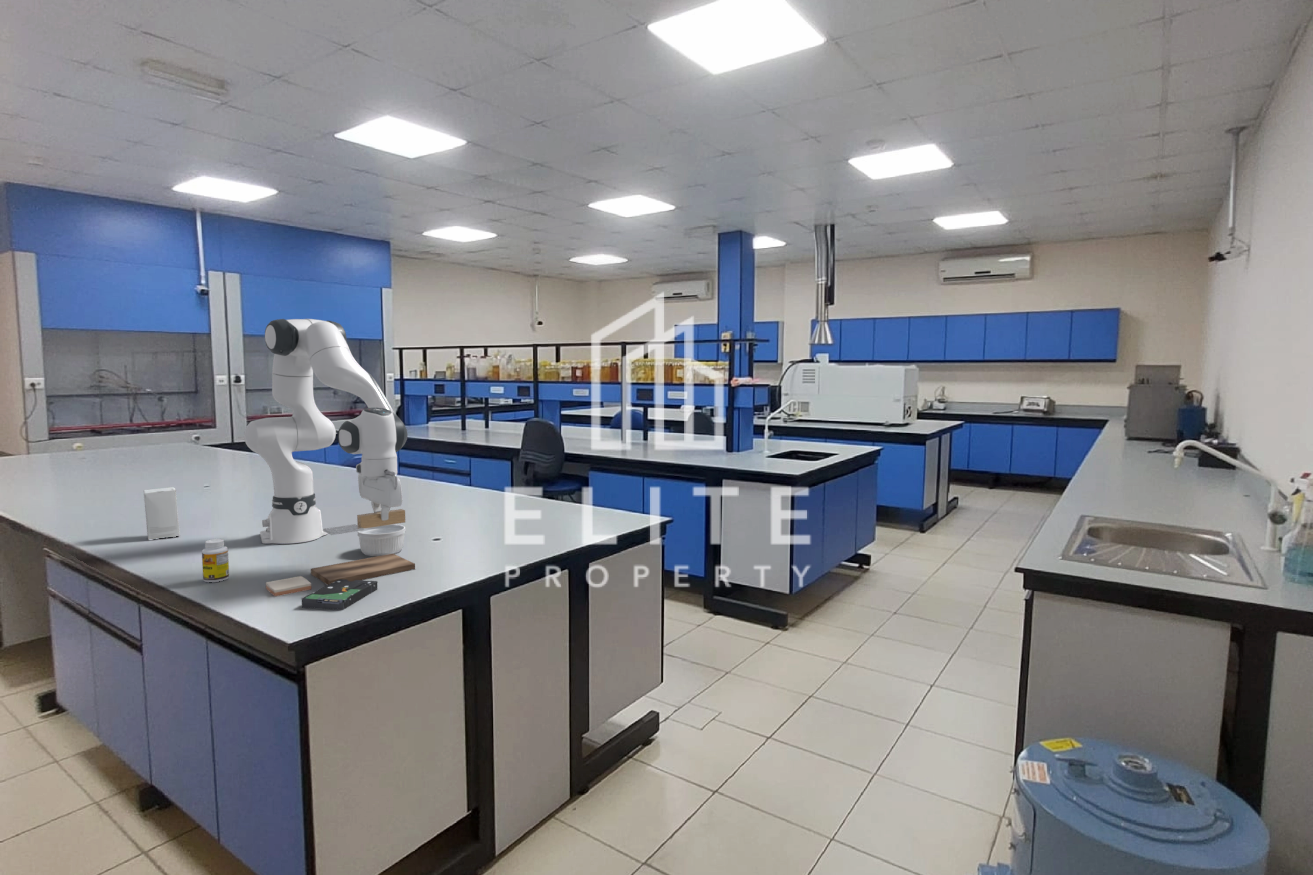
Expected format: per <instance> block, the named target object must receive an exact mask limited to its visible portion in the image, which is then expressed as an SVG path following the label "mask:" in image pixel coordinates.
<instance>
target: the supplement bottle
mask: <svg viewBox="0 0 1313 875" xmlns="http://www.w3.org/2000/svg"><path fill="white" fill-rule="evenodd" d="M224 541H225V540H224V539H221V538H213V539H209V540H206V541H204V548H203V549H202V550H201V560H202V562H201V563H202V565H201V566H202V580H203V581H204V582H205V583H209V582H212V583H219V581H220V582H223V580H224V581H226V580H228V579H229V577H230V565H229V564H230V562H229V549H228V547H227V546H225V542H224Z"/></svg>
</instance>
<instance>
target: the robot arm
mask: <svg viewBox="0 0 1313 875" xmlns="http://www.w3.org/2000/svg"><path fill="white" fill-rule="evenodd" d="M264 342H265V346H266V347H267V349H268V350H269V351H270V352H271V353H272V354H273V361H272V371H271V372H272V375H271V377H272V379H271V380H272V381H271V384H272V385H271V386H272V388H271V395H272V398H273V400H275V402H277V403H278V404H280V405H282V406H283V407H286V408H289V409H290V410H291V411H292V415H291V416H283V417H282V416H279V417H275V416H274V417H263V418H259V419H255V420H251V421H250V422H249V423H248V424H247V425H246V427H245V428H244V432H243V438H244V439H243V440H244V443H245V444H246V446H247V447H248V448H249V449H250V450H251V451H252V452H253V453H256V455H259V457H261V458H262V459H263V460H264V462H266V464H267V465H268V468H269V469H270V472H271V477H272V485H273V486H272V487H273V496H272V500H271V507H272V508H271V511H270V513H269V514H268V516H267V518H265V519H262V521H261V522H262V523H261V526H262V528H266V529H265V530H262V531H259V536H260V539H261V540H260V541H261V544H263V545H264V544H266V545H267V544H279V545H280V544H283V545H284V544H285V545H286V544H297V543H299V544H300V543H305V542H306V543H307V542H312V541H314V540H318V539H319V538H321V537H322V536H326V535H328V533H326V532H324V531H323V521H322V511H321V509H319V508H318V507H317V506H316V503H317V502H316V500H317V498H316V494H315V493H314V472H313V470H312V468H311V467H310V466H308V465H307V464H305V463H302V462H300V461H297V460H295V459H294V458H293V453H294V452H305V451H317V450H321V449H325V448H328V447H330V446H331V445H332V444H333V443H334V441H335V439H336V435H337V441H338V445H339V447H340V448H341V449H342V450H343V451H344V452H345V453H347V454H350V455H351V454H352V455H361V462H360V463H358V464H356V466H355V471H356V473H357V481H358V492H359V496H360V498H361V499H364V500H368V501H369V502H370V503H371V508H372V511H373V513H376V512H381V513H380V519H381V520H388V513H389V511H390V509H391V508H396V507H401V506H402V505H403V490H402V483H401V480H400V478H399V477H398V456H397V452H399V451H400V450H401V449H402V448H403V447H404V446H405V444H406V442H407V440H408V430H407V429H408V428H407V427H406V425H405V423H404V422H403V421H402V420H401V418H400V417H399V416H398V415H397V414H396V413H395V411H394V409H393V408H392V406H391V404H390V402H389V401H388V399H387V398H386V396H385V394H384V392H383V391H382V389H381V388H380V385H379V384H378V382H377V381H376V379H375V378H374V377H373V375H372V374H371V373H370V372H368V371H367V370H365V369H364V368H363V367H362V366H361V365H360V364H359V362H358V361H356V359H355V357H354V356H353V354H352V352H351V350H350V347H349V345H348V342H347V334H346V330H345V329H344V327H343V326H342V324H340V323H338V322H337V321H334V320H333V321H332V320H323V319H322V320H321V319H315V318H314V319H313V318H303V319H302V318H301V319H300V318H292V319H291V318H290V319H285V318H279V319H273V320H270V321H269V322H268V323H267V325H266V327H265V330H264ZM314 375H315V377H316V378H317V380H319V382H320V383H322V384H323V385H324V386H327V387H328V388H329V387H330V388H332V389H334V390H340V391H344V392H347V393H348V394H349V393H350V394H352V395H354V396H357V397H358V398H360V399H361V400H362V401H363V402H364V403H365V404H366V406H367V408H364V409H362V410H361V413H360V414H359V415H358V416H357V417H355V418H352V419H349V420H346V421H344V422H343V423H342V424H341V425H340V427H339V428H338V431H337V430H336V426H335V424H334V423H333V422H332V421H331V419H330V418H328V417H326V416H325V415H324V414H323V413H322V412H321V411H320V409H319V408H318V406H317V405H316V402H315V401H316V400H315V398H314Z"/></svg>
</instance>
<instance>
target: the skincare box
mask: <svg viewBox="0 0 1313 875" xmlns="http://www.w3.org/2000/svg"><path fill="white" fill-rule="evenodd" d="M143 500H144V512H145V521H146V535H147V538H148V540H149V539H156V538H163V537H173V538H177V537H176V536H179V537H180V536H181V535H180V525H179V524H180V522H179V511H178V499H177V489H176V488H175V487H174V486H171V487H170V486H169V487H161V488H152V489H151V488H150V489H144V490H143Z"/></svg>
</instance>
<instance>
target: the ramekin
mask: <svg viewBox="0 0 1313 875" xmlns="http://www.w3.org/2000/svg"><path fill="white" fill-rule="evenodd" d="M405 533H406V526H405V525H402V524H391V525H385V526H378V527H372V528H365V529H364V530H362V531H357V536H358V540H359V545H360V551H361V552H362V554H364V555H365V556H368V557H377V556H382V555H388V554H395V555H396V554H397V553H400V552H401V551H402V550H403V548H404V544H405Z"/></svg>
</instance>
